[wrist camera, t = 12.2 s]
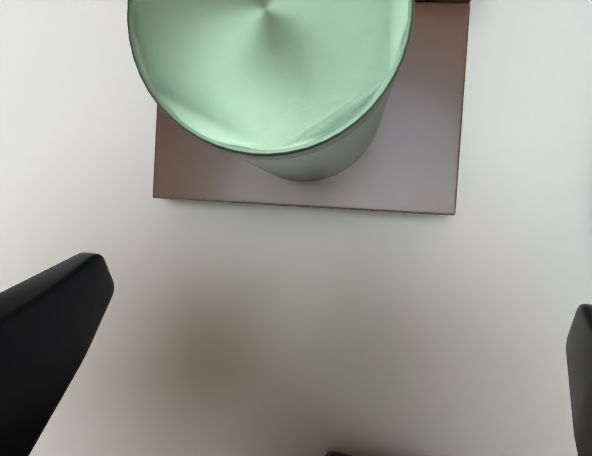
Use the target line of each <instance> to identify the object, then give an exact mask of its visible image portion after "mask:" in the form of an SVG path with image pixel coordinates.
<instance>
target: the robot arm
mask: <svg viewBox="0 0 592 456" xmlns="http://www.w3.org/2000/svg"><path fill="white" fill-rule="evenodd" d="M113 292H114V282H113V280H112V277H111V275H110V272H109V270H108V267H107V265H106V262H105V260H104V258H103V257H102V256H101V255H99V254H95V253H79V254H77V255H75V256H73V257H71V258H69V259H67V260H65V261H63V262H61V263H59V264H57V265H55V266H53V267H51V268H49V269H47V270H45V271H43V272H41V273H39V274H37V275H35V276H33V277H31V278H29V279H27V280H25V281H23V282H21V283H19V284H17V285H15V286H13V287H11V288H9V289H7V290H5V291H3V292H1V293H0V456H29V454H30V453H31V451H32V449H33V447H34V446H35V444H36V442H37V440H38V439H39V437H40V435H41V433H42V432H43V430H44V428H45V426H46V425H47V423H48V421H49V419H50V418H51V416H52V414H53V412H54V411H55V409H56V407H57V405H58V404H59V402H60V400H61V398H62V397H63V395H64V393H65V391H66V390H67V388H68V386H69V384H70V382H71V381H72V379H73V377H74V375H75V374H76V372H77V370H78V368H79V367H80V365H81V363H82V361H83V359H84V357H85V355H86V353H87V351H88V349H89V347H90V345H91V343H92V340H93V338H94V336H95V334H96V331H97V329H98V327H99V325H100V322H101V320H102V318H103V316H104V313H105V311H106V309H107V307H108V304H109V302H110V300H111V298H112V295H113ZM566 355H567V366H568V376H569V387H570V397H571V408H572V418H573V428H574V436H575V442H576V447H577V452H578V456H592V305H590V304H582V305H580V306H579V307H578V309H577V311H576V314H575V317H574V319H573V322H572V325H571V328H570V331H569V334H568V337H567V342H566ZM324 456H350V455H347V454H343V453H340V452H335V451H331V452H328V453H327V454H326V455H324Z"/></svg>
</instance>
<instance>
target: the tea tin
mask: <svg viewBox="0 0 592 456" xmlns="http://www.w3.org/2000/svg"><path fill="white" fill-rule="evenodd" d="M414 4H415V0H128V12H127V22H128V32H129V41H130V45H131V50H132V54H133V58H134V61H135V64H136V66H137V69H138V72H139V74H140V77H141V79H142V80H143V82H144V84H145V86H146V88H147V90H148V92H149V93H150V95H151V96H152V97H153V99H154V100H155V102H156V103H157V105H158V106H159V107H160V108H161V109H162V110H163V112H164V113H165V114H166V115H167V116H168V117H169V118H170V119H171V120H172V121H173V122H174V123H176V124H177V125H178V126H179V127H180V128H182V129H183V130H184V131H185V132H187V133H189V134H190V135H192V136H193V137H195V138H197V139H198V140H200V141H202V142H204V143H206V144H208V145H210V146H212V147H214V148H217V149H219V150H221V151H223V152H226V153H229V154H232V155H235V156H237V157H239V158H241V159H243V160H245V161H247V162H248V163H250V164H252V165H254V166H256V167H258V168H260V169H262V170H264V171H266V172H268V173H271V174H273V175H275V176H277V177H280V178H284V179H287V180H294V181H314V180H320V179H324V178H327V177H330V176H333V175H335V174H337V173H339V172H341V171H343V170H345V169H346V168H348V167H349V166H350V165H352V164H353V163H354V162H355V161H356V160H357V159H359V158H360V157H361V155H362V154H363V153H364V152H365V151H366V149H367V148H368V147H369V145H370V143H371V142H372V140H373V138H374V136H375V134H376V132H377V129H378V126H379V124H380V121H381V118H382V115H383V112H384V109H385V106H386V103H387V100H388V97H389V94H390V92H391V89H392V86H393V84H394V82H395V80H396V78H397V76H398V74H399V71H400V69H401V67H402V64H403V61H404V58H405V55H406V52H407V49H408V46H409V42H410V39H411V33H412V27H413V22H414Z"/></svg>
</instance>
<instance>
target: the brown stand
mask: <svg viewBox="0 0 592 456" xmlns="http://www.w3.org/2000/svg"><path fill="white" fill-rule="evenodd" d="M420 1H432V2H415V4H414V22H413V27H412V33H411V39H410V42H409V46H408V49H407V52H406V55H405V58H404V61H403V64H402V67H401V69H400V71H399V74H398V76H397V78H396V80H395V82H394V84H393V86H392V89H391V92H390V94H389V97H388V100H387V103H386V106H385V109H384V112H383V115H382V118H381V121H380V124H379V126H378V129H377V132H376V134H375V136H374V138H373V140H372V142H371V143H370V145H369V147H368V148H367V149H366V151H365V152H364V153H363V154H362V155H361V157H360V158H359V159H357V160H356V161H355V162H354V163H353V164H352V165H350V166H349V167H348V168H346V169H345V170H343V171H341V172H339V173H337V174H335V175H333V176H330V177H327V178H324V179H320V180H314V181H294V180H287V179H284V178H280V177H277V176H275V175H273V174H271V173H268V172H266V171H264V170H262V169H260V168H258V167H256V166H254V165H252V164H250V163H248V162H247V161H245V160H243V159H241V158H239V157H237V156H235V155H232V154H229V153H226V152H223V151H221V150H219V149H217V148H214V147H212V146H210V145H208V144H206V143H204V142H202V141H200V140H198V139H197V138H195V137H193V136H192V135H190V134H189V133H187V132H185V131H184V130H183V129H182V128H180V127H179V126H178V125H177V124H176V123H174V122H173V121H172V120H171V119H170V118H169V117H168V116H167V115H166V114H165V113H164V112H163V110H162V109H161V108H160V107H159V106H158V105H157V121H156V142H155V163H154V183H153V197H154V198H163V199H178V200H198V201H216V202H233V203H250V204H267V205H284V206H301V207H318V208H335V209H353V210H370V211H387V212H404V213H419V214H435V215H455V209H456V195H457V181H458V167H459V153H460V139H461V125H462V111H463V97H464V83H465V69H466V55H467V41H468V27H469V12H470V1H471V0H420Z"/></svg>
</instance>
